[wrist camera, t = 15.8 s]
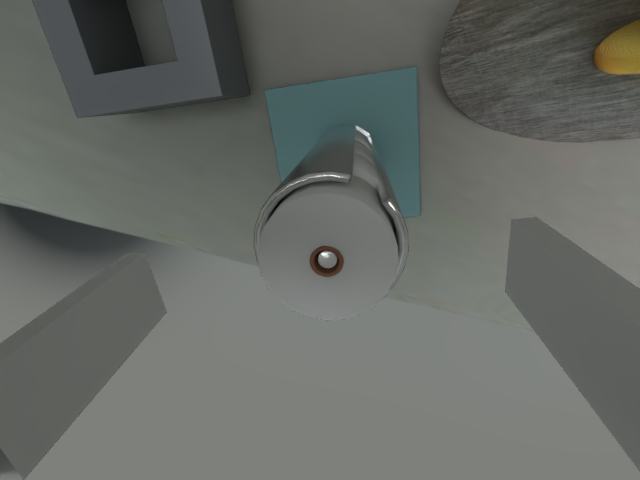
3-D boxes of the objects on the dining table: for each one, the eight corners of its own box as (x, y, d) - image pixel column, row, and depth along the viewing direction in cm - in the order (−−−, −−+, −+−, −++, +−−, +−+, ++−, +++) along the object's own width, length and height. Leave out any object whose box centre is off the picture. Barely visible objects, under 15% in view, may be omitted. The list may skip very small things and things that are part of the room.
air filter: (387, 168, 36) (440, 292, 13) (334, 196, 38) (299, 349, 15) (359, 111, 34) (364, 141, 11) (304, 143, 36) (213, 227, 13)
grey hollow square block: (83, -39, 32) (2, -78, 25) (218, -69, 30) (173, -122, 23) (132, 113, 37) (77, 117, 30) (250, 95, 35) (222, 95, 28)
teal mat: (265, 90, 35) (264, 89, 34) (416, 67, 33) (416, 66, 32) (290, 226, 41) (289, 228, 40) (419, 214, 38) (420, 215, 38)
